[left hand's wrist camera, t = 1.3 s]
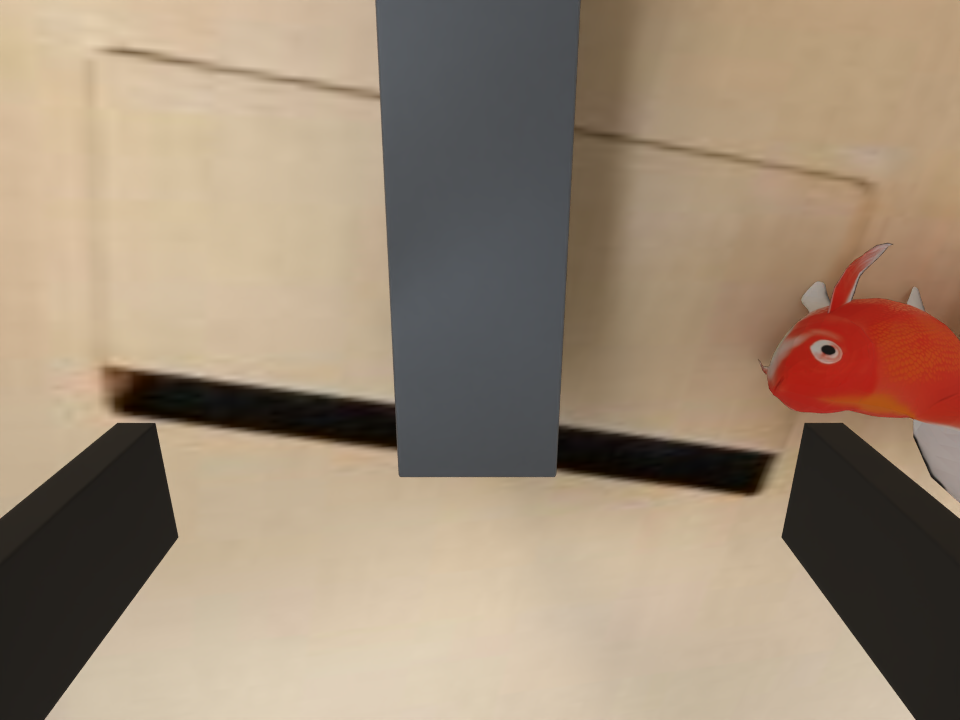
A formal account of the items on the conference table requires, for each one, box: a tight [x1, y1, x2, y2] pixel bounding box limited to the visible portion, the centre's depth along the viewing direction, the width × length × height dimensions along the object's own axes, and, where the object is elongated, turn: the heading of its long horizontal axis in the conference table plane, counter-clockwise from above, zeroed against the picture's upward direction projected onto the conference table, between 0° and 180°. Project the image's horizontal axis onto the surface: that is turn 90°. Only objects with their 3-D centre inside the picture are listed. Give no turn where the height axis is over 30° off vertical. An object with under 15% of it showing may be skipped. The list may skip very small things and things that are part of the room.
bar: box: [375, 0, 581, 477], centre depth 21 cm, size 24×5×9 cm, turn 0°
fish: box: [758, 243, 960, 503], centre depth 24 cm, size 11×16×10 cm
